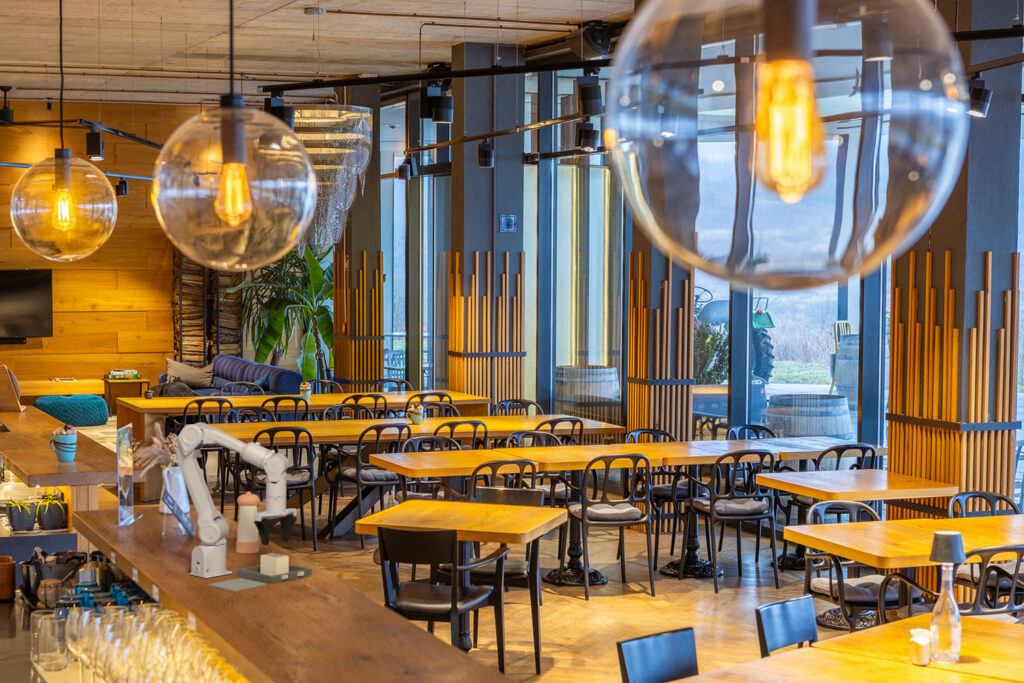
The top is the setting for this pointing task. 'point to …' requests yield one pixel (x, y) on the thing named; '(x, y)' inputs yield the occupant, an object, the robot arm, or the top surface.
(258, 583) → the slate mat
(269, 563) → the block
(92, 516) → the top surface
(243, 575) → the frame
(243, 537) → the salt shaker
